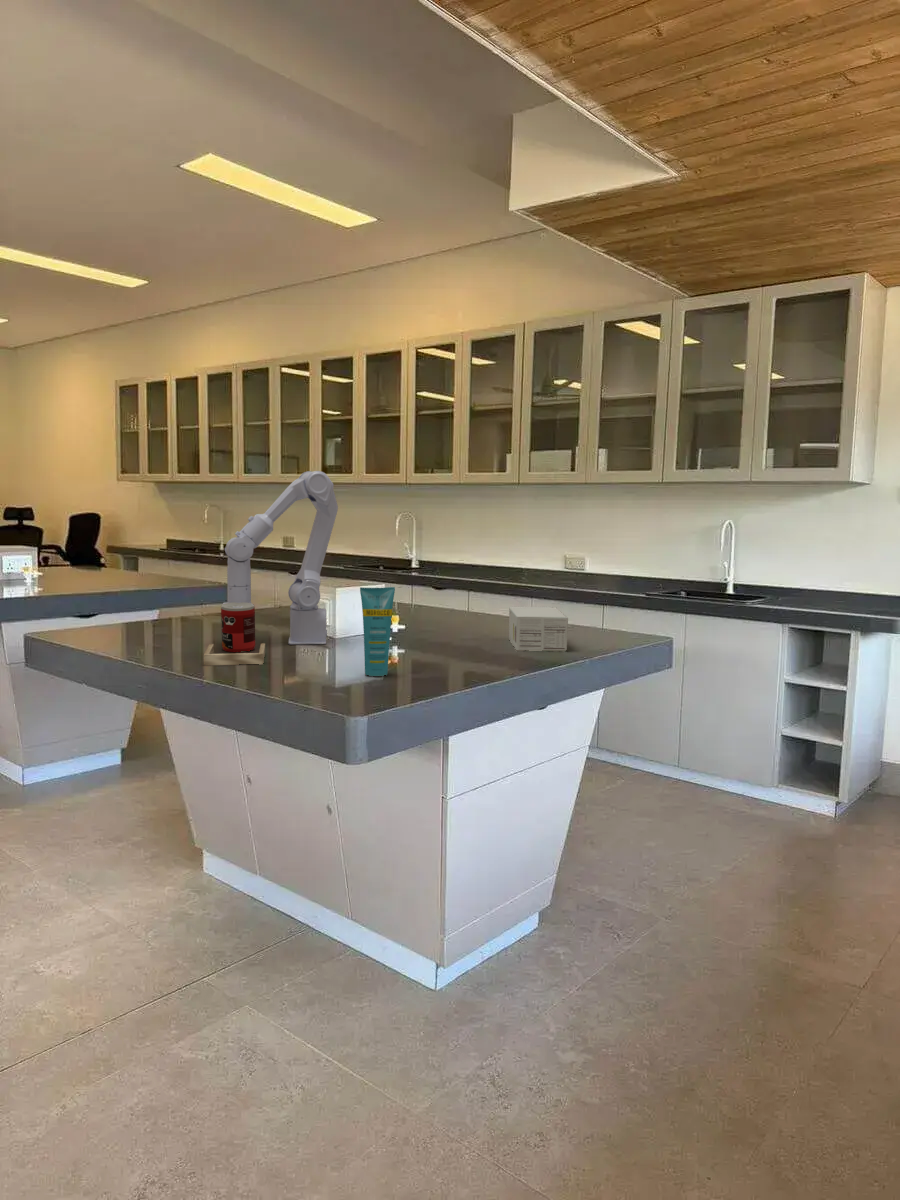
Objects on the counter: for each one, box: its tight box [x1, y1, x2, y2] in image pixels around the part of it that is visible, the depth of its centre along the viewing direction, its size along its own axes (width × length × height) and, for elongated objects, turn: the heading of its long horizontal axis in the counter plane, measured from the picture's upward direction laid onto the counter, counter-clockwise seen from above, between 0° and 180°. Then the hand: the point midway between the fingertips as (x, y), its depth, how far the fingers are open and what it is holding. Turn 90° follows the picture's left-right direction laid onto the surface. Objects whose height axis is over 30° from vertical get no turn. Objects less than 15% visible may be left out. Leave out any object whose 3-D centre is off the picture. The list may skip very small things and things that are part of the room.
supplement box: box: [508, 606, 569, 651], centre depth 222 cm, size 17×13×9 cm
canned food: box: [220, 602, 256, 653], centre depth 208 cm, size 8×8×11 cm
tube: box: [359, 586, 396, 677], centre depth 183 cm, size 7×5×19 cm, turn 106°
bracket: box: [203, 643, 266, 666], centre depth 198 cm, size 13×13×2 cm
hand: (239, 639), depth 214 cm, fingers closed
